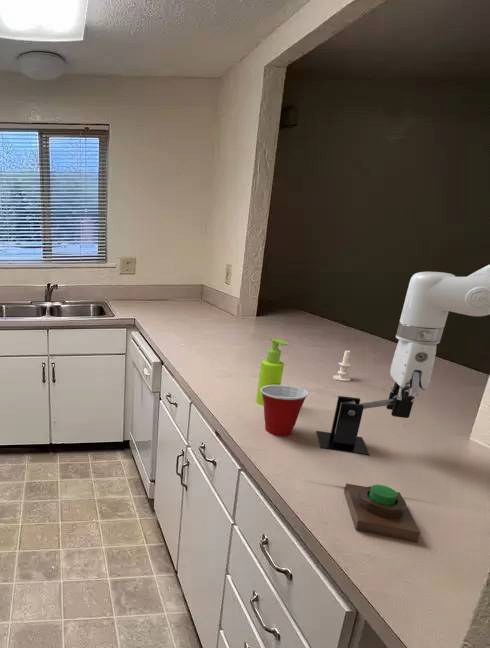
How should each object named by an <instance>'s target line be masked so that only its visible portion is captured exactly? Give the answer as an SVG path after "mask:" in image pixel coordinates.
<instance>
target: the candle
mask: <svg viewBox="0 0 490 648" xmlns="http://www.w3.org/2000/svg"><path fill="white" fill-rule="evenodd" d="M350 356H351V351H350V350H349V349H347V350H345V351H344V354H343V358H342V361H341V362H338V365H339V366H340V368H339V370H338V371H337V374H334V375H333V376H332V378H333V380H335V381H338V382H344V383H345V382H347V383H348V382H351V380H352V378H351V377H349V376H347V375H349V374H350V373H349V372H348V369H349V367H351V366H352V364H351V363H350V362H349V361H350Z"/></svg>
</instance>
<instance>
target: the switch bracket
mask: <svg viewBox="0 0 490 648" xmlns="http://www.w3.org/2000/svg"><path fill="white" fill-rule="evenodd" d="M349 401H355V403H356V404H353V403H344V402H349ZM364 410H365V409H364V405H361V399H360V397H352V396H343V395H342V396H341V395H337V400H336V405H335V409H334V415H333V419H332V424H331V428H330V431H329V432H328V431H320V430H316V431H315V434H316V437H317V440H318V445H319V448H320V449H324V450H329V451H336V452H343V453H349V454H354V455H361V456H368V457H370V456H371V454H370V452H369V449H368V448H367V445H366V442H365V440H364V439H363V437H362V436H358V433H359V431H360V425H361V421H362V416H363V412H364Z"/></svg>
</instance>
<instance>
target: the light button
mask: <svg viewBox="0 0 490 648" xmlns="http://www.w3.org/2000/svg"><path fill="white" fill-rule="evenodd" d="M397 492H398V491H396V490H395V489H393V488H392V487H389V486H387V485H383V484H373V485H371V489H370V493H369V497H370V498H371V499H372V500H373V501H376V502H378V503H380V504H384V505H394V504H395V503H396V499H397V496H398V494H397Z"/></svg>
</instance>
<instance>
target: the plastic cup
mask: <svg viewBox="0 0 490 648" xmlns="http://www.w3.org/2000/svg"><path fill="white" fill-rule="evenodd" d="M260 392H261V393H262V397H263V401H264V406H263V415H264V416H263V417H264V418H263V419H264V426H265V428H264V429H265V431H266V432H267V433H269V434H270V435H273V436H276V437H288V436H290V435H292V433H293V430H294V428H295V426H296V423H297V420H298V417H299V415H300V412H301V410H302V407H303V404H304V402H305V400H306V398H307V397H308V396H309V392H308V391H307V390H306V389H304V388H302V387H298V386H294V385H287V384H281V385H269V386H264V387H262V388H261V389H260Z"/></svg>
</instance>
